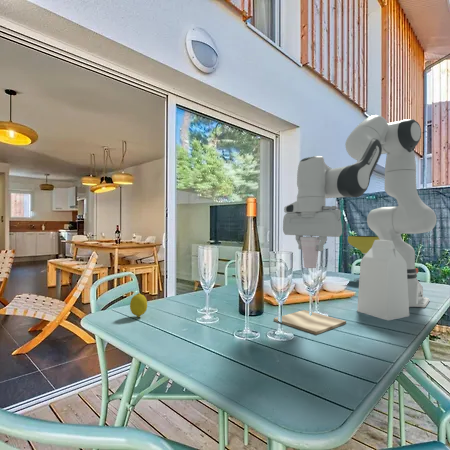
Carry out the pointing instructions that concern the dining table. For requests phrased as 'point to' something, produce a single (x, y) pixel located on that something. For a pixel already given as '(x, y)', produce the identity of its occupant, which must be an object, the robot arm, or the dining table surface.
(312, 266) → the smoothie
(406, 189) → the robot arm
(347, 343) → the dining table surface
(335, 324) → the oak board
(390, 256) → the milk
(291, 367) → the dining table surface
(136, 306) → the lemon
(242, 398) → the dining table surface
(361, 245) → the cocktail glass
